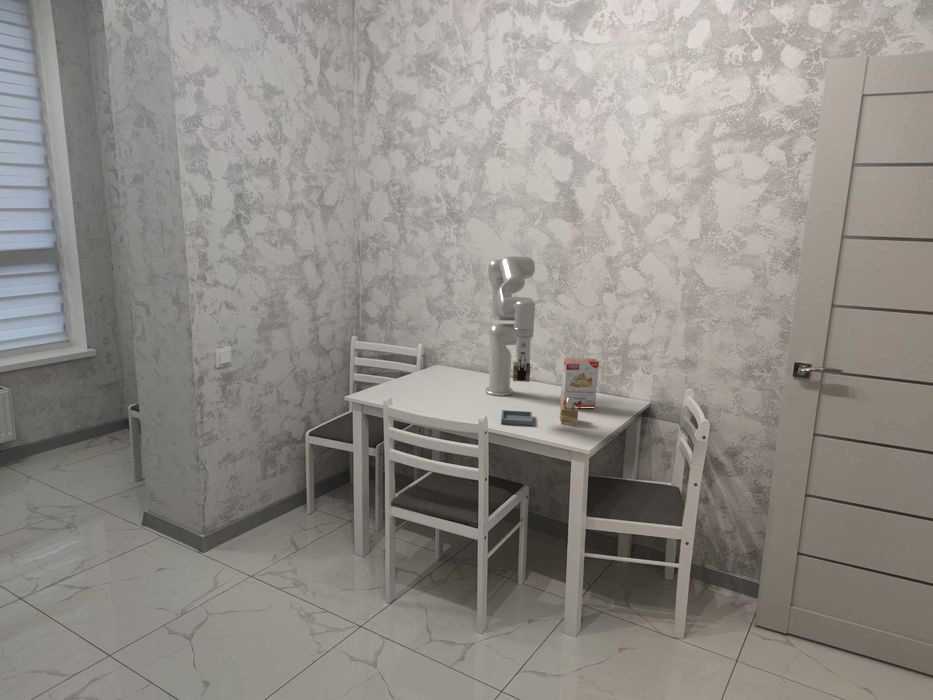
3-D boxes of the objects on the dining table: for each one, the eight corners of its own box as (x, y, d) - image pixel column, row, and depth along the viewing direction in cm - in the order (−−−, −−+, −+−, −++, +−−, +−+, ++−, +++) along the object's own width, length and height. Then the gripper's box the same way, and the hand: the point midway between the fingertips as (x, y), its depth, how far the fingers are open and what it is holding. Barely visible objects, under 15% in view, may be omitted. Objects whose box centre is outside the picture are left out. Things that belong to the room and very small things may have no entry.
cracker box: (563, 409, 270) (566, 360, 266) (559, 404, 276) (563, 357, 271) (595, 409, 271) (599, 361, 267) (591, 405, 277) (595, 358, 273)
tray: (501, 414, 259) (502, 410, 259) (531, 416, 258) (531, 411, 258) (501, 424, 247) (501, 419, 247) (532, 426, 247) (532, 421, 246)
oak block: (559, 419, 257) (560, 404, 255) (575, 420, 256) (576, 405, 255) (560, 424, 250) (561, 409, 249) (577, 425, 250) (578, 410, 249)
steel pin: (565, 418, 254) (566, 396, 253) (571, 419, 254) (572, 397, 252) (565, 420, 252) (566, 398, 250) (571, 420, 252) (573, 399, 250)
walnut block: (512, 376, 253) (513, 362, 252) (528, 377, 253) (529, 362, 251) (512, 381, 247) (513, 365, 245) (529, 381, 246) (530, 366, 245)
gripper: (534, 337, 237) (531, 384, 241) (532, 329, 254) (529, 372, 258) (514, 336, 237) (511, 383, 241) (513, 328, 254) (511, 371, 258)
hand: (521, 377), depth 249 cm, fingers closed on walnut block, 6 cm apart
